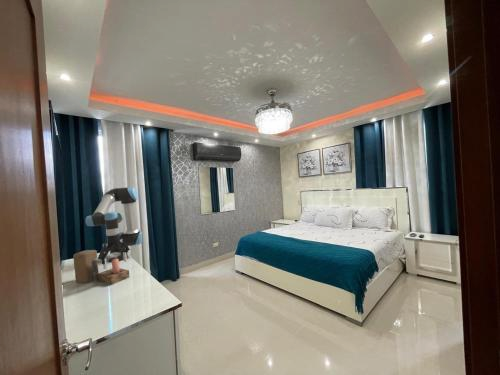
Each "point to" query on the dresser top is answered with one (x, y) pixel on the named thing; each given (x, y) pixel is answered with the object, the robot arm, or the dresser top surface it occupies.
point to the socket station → (108, 271)
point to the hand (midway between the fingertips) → (115, 264)
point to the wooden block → (84, 265)
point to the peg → (115, 266)
